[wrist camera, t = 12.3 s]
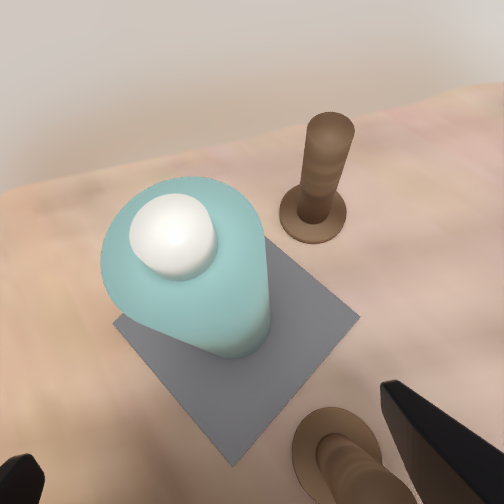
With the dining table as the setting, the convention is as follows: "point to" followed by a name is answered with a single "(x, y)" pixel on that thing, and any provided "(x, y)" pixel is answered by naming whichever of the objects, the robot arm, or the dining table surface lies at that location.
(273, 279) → the charcoal rubber mat
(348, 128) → the walnut gate posts
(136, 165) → the dining table surface
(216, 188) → the teal bottle
